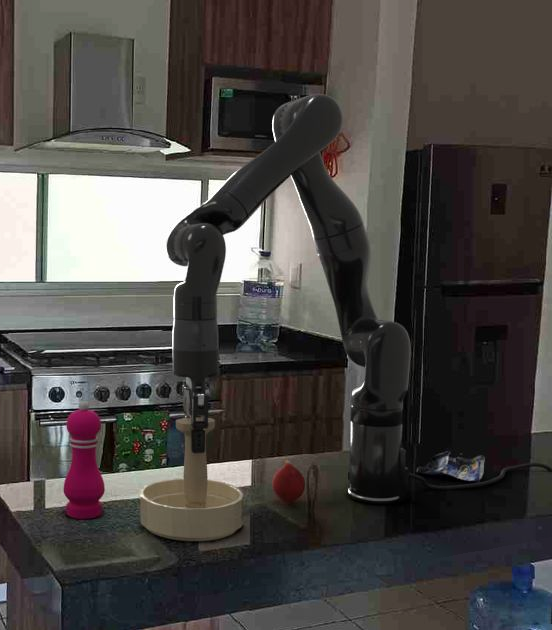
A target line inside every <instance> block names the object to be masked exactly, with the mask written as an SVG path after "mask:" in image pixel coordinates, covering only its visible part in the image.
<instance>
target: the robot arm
mask: <svg viewBox="0 0 552 630" xmlns="http://www.w3.org/2000/svg"><path fill="white" fill-rule="evenodd" d="M343 121H344V117H343V112H342V109H341V106H340V105H339V103H338V102H337V101H336V100H335V99H334V98H333V97H331V96H330V95H327V94H324V93H315V94H309V95H306V96H303V97H299V98H296V99H294V100H291V101H288V102H285V103H283V104H281V105H280V106H279V107H278V108H277V109H276V111H275V112H274V114H273V117H272V123H271V124H272V133H273V138H274V142H273V143H272V144H271V145H270V146H269V147H267V148H266V149H265V150H264V151H262V152H260V153H259V154H257V156H255V157H254V158H252V159H251V160H250V161H248V162H246V163H245V164H244V165H242V166H241V167H240V168H239V169H237V170H236V171H235V172H234V173H233V174H232V175H231V176H230V177H229V178H228V179H226V181H225V182H224V183H223V184H222V185H220V187H219V188H218V189H217V190H216V191H215V192H214V193H213V194H212V196H211V197H210V198H209V199H208V200H206V201H205V202H203V203H202V204H201V205H199V206H198V207H197V208H195V209H193V210H192V211H191V212H190V213H188V214H187V215H186V216H184V217H183V218H182V219H180V220H179V221H178V222H177V223H176V224H175V225H174V226H173V227H172V228H171V230H170V231H169V233H168V235H167V237H166V241H165V252H166V256H167V258H168V259H169V260H170V262H172V263H174V264H175V265H176V266H180V267H187V268H186V273H185V279H184V281H183V282H180V283H178V284H176V286H175V287H174V291H173V324H172V325H173V326H172V337H171V338H172V340H171V341H172V373H173V375H174V376H175V377H179V378H185V379H186V380H183V382H182V391H181V392H182V397H183V400H182V407H183V415H184V418H190V428H191V451H192V452H193V453H204V452H205V430H206V429H208V426H209V424H208V418H209V411H210V410H209V407H210V405H209V404H210V403H209V402H210V388H209V387H207V386H208V385H207V384H206V379H207V378H208V377H209V378H213V377H215V376H217V375H218V374H219V371H220V370H219V369H220V367H219V360H220V359H219V358H220V357H219V356H220V355H219V354H220V353H219V350H220V349H219V348H220V346H219V343H220V341H219V340H220V339H219V337H220V336H219V335H220V334H219V326H218V297H217V296H218V290H219V287H220V284H221V280H222V274H223V270H224V267H225V261H226V254H227V244H226V240H225V237H224V236H225V235H227V234H230V233H233V232H236V231H238V230H239V229H240V228H242V226H244V225H245V224H246V222H247V221H249V219H250V218H251V217H252V216H253V215H254V214H255V213H256V212H257V211H258V210H259V208H260V207H261V206H262V205H263V204H264V203H265V202H266V200H268V199H269V197H271V195H272V194H273V193H274V192H275V191H276V190H277V189H278V188H279V187H280V186H281V185H283V183H285V182H286V181H287V180H288V179H289V178H290V177H291V180H292V182H293V184H294V187H295V190H296V192H297V195H298V198H299V201H300V204H301V207H302V210H303V212H304V215H305V218H306V221H307V225H308V227H309V231H310V235H311V238H312V241H313V244H314V247H315V250H316V253H317V256H318V259H319V261H320V264H321V267H322V271H323V273H324V276H325V280H326V282H327V285H328V289H329V292H330V294H331V295H330V296H331V298H332V301H333V304H334V308H335V313H336V318H337V322H338V328H339V332H340V337H341V341H342V345H343V348H344V352H345V353H346V355H347V357H348V359H349V360H350V361H351V362H353V363H354V364H355V365H357V366H359V367H362V368H365V369H364V380H363V383H362V384H361V385H360V386H358V387H355V388H354V389H352V391H351V394H350V422H349V423H350V425H349V426H350V427H349V432H350V433H349V467H348V468H349V469H348V472H347V481H348V489H347V490H348V491H347V493H348V497H349V498H351V499H353V500H354V501H357V502H361V503H365V504H371V505H372V504H373V505H390V504H395V503H398V502H405V499H406V498H405V495H406V493H405V491H406V487H407V486H409V482H410V481H409V479H410V478H411V479H415V480H418V481H419V482H421V483H422V484H423V486H424V487H425V488H427V489H431V490H448V491H449V490H450V491H452V490H453V491H454V490H464V489H471V488H480V487H484V486H489V485H492V484H495V483H497V482H499V481H501V480H503V479H504V477H505V475H506V473H507V472H510V471H515V470H519V469H525V468H532V467H538V468H543V469H544V470H547V471H548V473H549V472H550V473H552V467H551V466H549V465H548V464H544V463H541V462H528V463H522V464H518V465H512V466H508V467H504V468H502V470H500V474H499V475H498V476H496V477H493V478H492V479H487V480H485V481H479V483H478V482H474V483H473V482H472V483H466V484H465V483H464V484H457V485H446V486H445V485H434V484H431V483H428V482H427V480H426V479H425V478H424V477H423V476H420V475H419V474H415V473H410V469H409V468H408V467H407V466H406V461H407V457H406V456H407V451H406V449H404V448H403V447H402V446H403V415H404V414H403V411H404V398H405V396H406V394H407V392H408V389H409V381H410V380H409V379H410V367H411V354H412V353H411V352H412V351H411V350H412V349H411V347H412V346H411V339H410V336H409V333H408V331H407V329H406V328H405V326H403V325H402V324H400V323H398V322H395V321H392V320H385V319H379V318H378V316H377V314H376V312H375V309H374V306H373V302H372V300H371V297H370V294H369V288H368V281H369V272H370V267H371V258H372V255H371V254H372V250H371V249H372V248H371V244H370V239H369V235H368V234H367V230H366V227H365V224H364V220H363V218H362V216H361V213H360V211H359V209H358V208H357V206H356V205H355V204H354V202H353V201H352V200H351V198H350V197H349V196H348V195H347V194H346V193H345V192H344V191H343V189H341V187H340V186H339V185H338V184H337V183H336V181H334V179H333V178H332V177H331V175H330V174H329V172H328V169H327V168H326V165H325V163H324V160H323V156H322V154H321V152H322V151H323V150H324V149H326V148H327V147H328V146H330V145H331V144H332V143H333V142H335V140H337V138H338V137H339V135H340V133H341V130H342V128H343V123H344V122H343ZM196 417H202V421H196ZM550 606H551V607H550V608H551V610H550V624H552V605H550Z"/></svg>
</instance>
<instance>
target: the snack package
mask: <svg viewBox="0 0 552 630" xmlns="http://www.w3.org/2000/svg"><path fill="white" fill-rule="evenodd" d="M451 453H452V452H451V451H450V450H445V451H444V452H439V453H436V454H434V455H433V456H431V458H430V460H429V462H428V463H427V464H425V466H418V467H417V468H416V473H417V474H418V475H419V474H420V475H421V474H425V475H432V476H447V477H451V478H455V479H458V480H461V481H465V482H475V483H480V482H481V479H482V478H483V475H484V469H485V461H486V460H485V457H486V456H484V455H483V454H479V455H477V456H474V457H473V458H464V457H461V456H462V455H463V453H460V456H458V457H452V456H451ZM449 455H450V456H449Z"/></svg>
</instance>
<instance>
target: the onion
mask: <svg viewBox="0 0 552 630" xmlns="http://www.w3.org/2000/svg"><path fill="white" fill-rule="evenodd" d="M271 486H272V490H273V492H274V494H275V495H276V496H277V497H278V498H279V499H280V500H281V501H282V502H283V503H284V504H285V505H291V504H292V503H294V502H296V501H297V500H299V499H300V498H301V497H302V496H303V494H304V492H305V489H306V481H305V478H304V476H303V474H302V472H301V471H300V470H299V469H298V468H297V467H295V466H294V465H293V464H292V463H291V462H290V461H289V460H285V462H284V465H283V466H282V467H280V468H278V470H277V471H276V473H275V474H274V475H273V477H272V481H271Z"/></svg>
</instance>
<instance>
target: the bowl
mask: <svg viewBox="0 0 552 630" xmlns="http://www.w3.org/2000/svg"><path fill="white" fill-rule="evenodd" d="M183 480H184V479H183V478H172V479H165V480H164V479H163V480H159V481H154V482H151V483H148V484H146V485H145V486H143V487H142V488H141V489H140V490H139V520H140V521H139V522H140V524H141V526H143V527H144V528H145V529H146V530H148V531H149V532H150V533H151V534H154V535H156V536H158V537H161V538H163V539H164V538H165V539H168V540H174V541H184V542H206V541H214V540H219V539H223V538H226V537H229V536H231V535H233V534H235V533H236V532H237V531H238V530H239V529H240V528H242V526H243V524H244V508H245V507H244V504H245V503H244V499H245V498H244V497H245V495H244V492H243V491H242V489H240V488H239V487H237V486H235V485H234V484H230V483H228V482H227V483H226V482H224V481H219V480H215V479H214V480H213V479H207V480H208V483H207V495H206V500H205V502H206V507H205V508H186V506H185V501H187V500H186V499H185V495H184V482H183Z"/></svg>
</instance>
